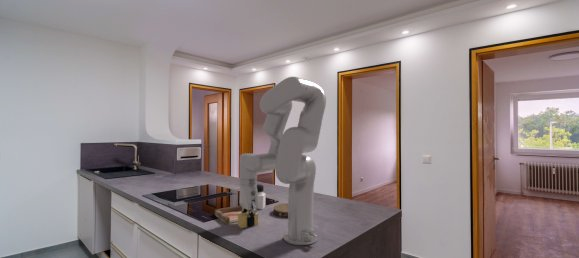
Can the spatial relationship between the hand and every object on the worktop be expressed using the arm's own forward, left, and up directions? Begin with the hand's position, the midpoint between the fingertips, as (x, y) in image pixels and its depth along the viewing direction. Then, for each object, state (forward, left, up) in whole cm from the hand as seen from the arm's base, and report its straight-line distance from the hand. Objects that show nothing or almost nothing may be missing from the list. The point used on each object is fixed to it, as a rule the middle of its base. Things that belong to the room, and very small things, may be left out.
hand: (247, 223), depth 118 cm
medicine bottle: (+22, -16, -1) cm, 27 cm away
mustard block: (0, 0, -1) cm, 1 cm away
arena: (+14, 0, 0) cm, 14 cm away
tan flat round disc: (+5, -25, -1) cm, 26 cm away
